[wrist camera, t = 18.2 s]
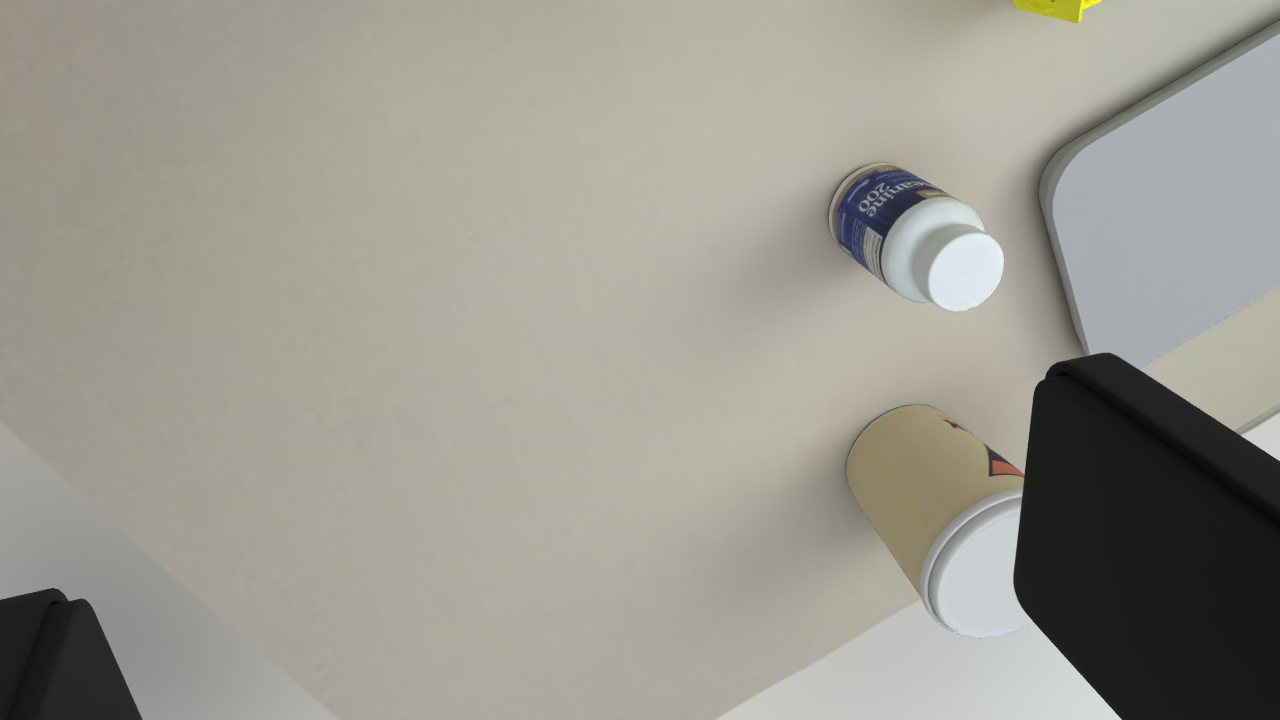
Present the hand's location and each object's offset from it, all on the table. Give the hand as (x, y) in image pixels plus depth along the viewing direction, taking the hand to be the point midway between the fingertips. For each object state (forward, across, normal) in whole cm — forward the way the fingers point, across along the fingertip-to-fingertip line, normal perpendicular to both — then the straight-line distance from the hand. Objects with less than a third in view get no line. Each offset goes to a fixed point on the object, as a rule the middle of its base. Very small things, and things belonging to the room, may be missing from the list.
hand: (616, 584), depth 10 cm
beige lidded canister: (+41, -26, +30) cm, 57 cm away
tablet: (+41, -47, +15) cm, 64 cm away
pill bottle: (+41, -23, +14) cm, 49 cm away
